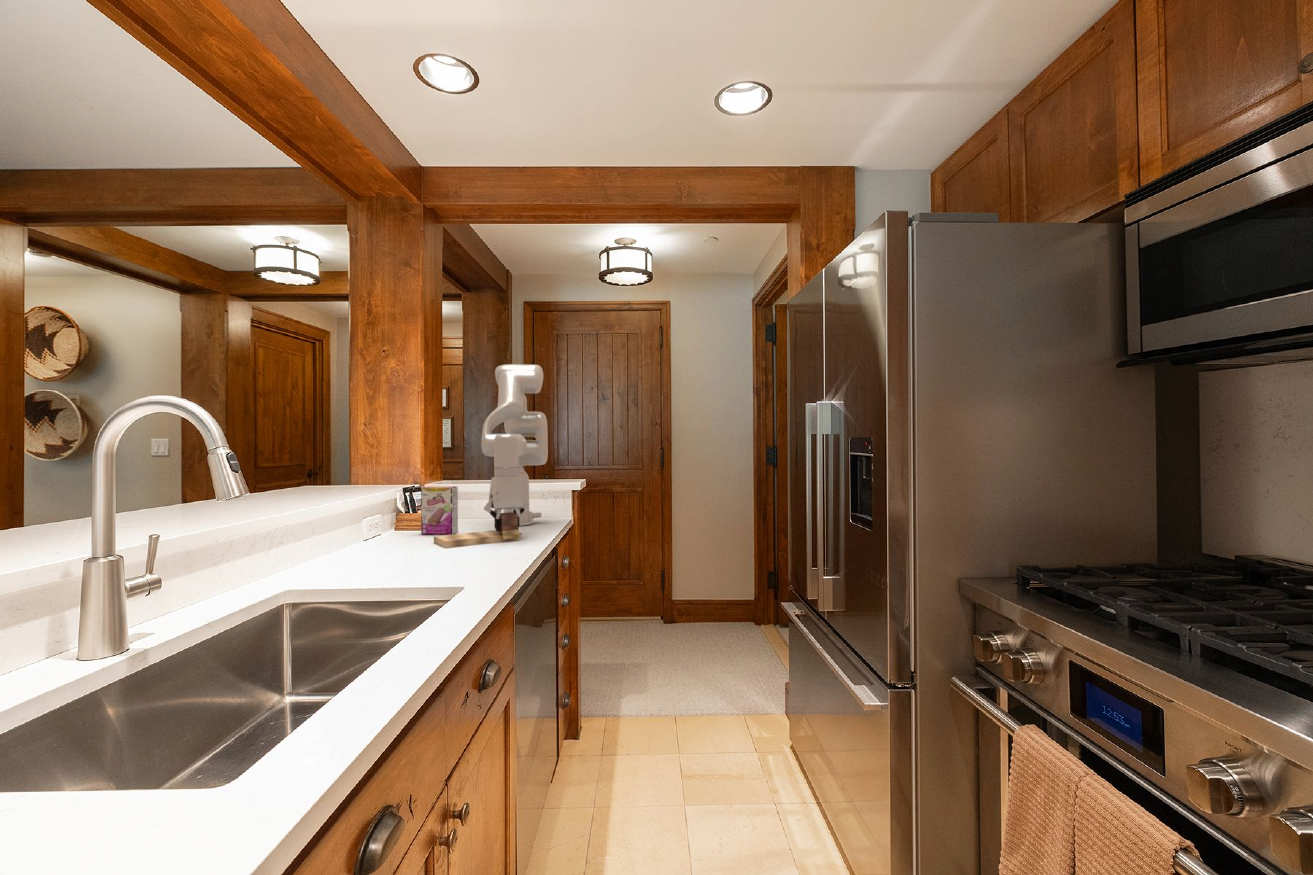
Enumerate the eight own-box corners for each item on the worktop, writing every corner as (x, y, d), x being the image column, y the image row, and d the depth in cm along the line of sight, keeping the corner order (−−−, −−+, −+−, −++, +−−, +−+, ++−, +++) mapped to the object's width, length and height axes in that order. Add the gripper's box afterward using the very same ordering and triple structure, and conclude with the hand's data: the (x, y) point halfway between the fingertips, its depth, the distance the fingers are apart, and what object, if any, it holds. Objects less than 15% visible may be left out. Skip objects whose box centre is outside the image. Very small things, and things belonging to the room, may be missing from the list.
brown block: (511, 535, 198) (511, 512, 198) (519, 537, 193) (518, 513, 193) (496, 536, 195) (496, 513, 195) (504, 539, 190) (503, 515, 190)
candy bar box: (420, 535, 206) (420, 486, 206) (427, 532, 211) (427, 485, 211) (452, 535, 205) (451, 486, 205) (458, 533, 210) (458, 485, 210)
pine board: (506, 534, 204) (506, 528, 204) (521, 539, 195) (521, 533, 195) (433, 542, 190) (433, 536, 190) (445, 548, 181) (445, 541, 181)
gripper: (526, 471, 202) (527, 526, 202) (476, 473, 192) (476, 531, 192) (536, 472, 196) (536, 528, 196) (484, 474, 186) (485, 534, 186)
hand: (507, 529), depth 194 cm, fingers closed on brown block, 5 cm apart
